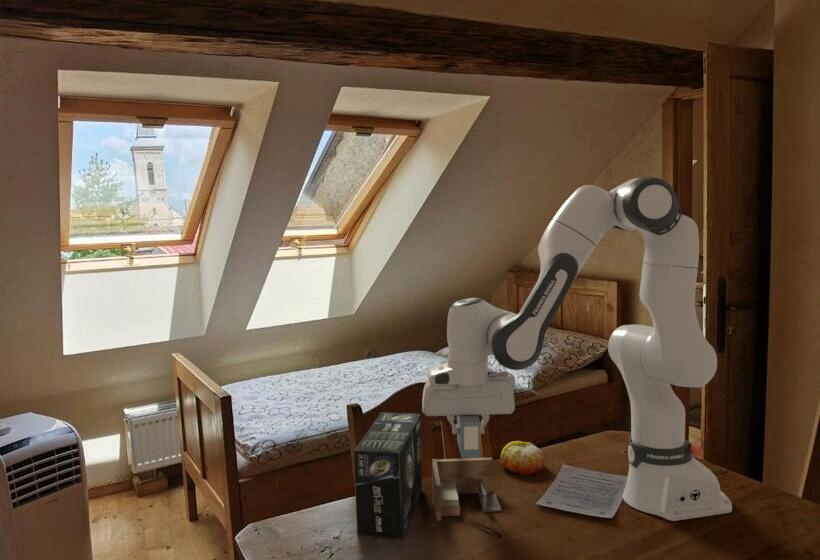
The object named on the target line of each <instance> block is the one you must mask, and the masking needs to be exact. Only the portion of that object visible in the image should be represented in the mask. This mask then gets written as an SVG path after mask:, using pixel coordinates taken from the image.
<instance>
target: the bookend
mask: <svg viewBox="0 0 820 560" xmlns="http://www.w3.org/2000/svg"><path fill="white" fill-rule="evenodd" d="M478 498H479V501H480V504H481V505H480V506H481V507H482V511H483V513H488V512H490V513H491V512H493V513H494V512H502V507H501V504H500V502H499V499H498V496H497V493H496V492H489V493H486V491H485V488H484V485H483V482H482V479H479V493H478Z"/></svg>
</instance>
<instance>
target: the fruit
mask: <svg viewBox="0 0 820 560" xmlns="http://www.w3.org/2000/svg"><path fill="white" fill-rule="evenodd" d="M544 454H545V453H544V452H543V450H542V449H540V448H539V447H537V446H536V445H534V444H533V442H527V441H526V442H525V441H521V440H515V441H513V440H512V441H510V442H508V443H507V444H506V445H505V446H504V447H503V448H502V450H501V453H500V457H499V458H500V464H501V466H502V468H504V469H506V470H508V471H510V472H511V473H514V474H520V475H521V476H531V475H534V474H535V475H536V474H538V473H539V472H540V471H542V469H544V467H545V465H546V457H545V455H544Z"/></svg>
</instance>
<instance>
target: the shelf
mask: <svg viewBox="0 0 820 560" xmlns="http://www.w3.org/2000/svg"><path fill="white" fill-rule="evenodd" d="M493 462H494V461H493V457H481V458H443V459H442V458H441V459H437V458H431V471H432V473H431V475H432V477H431V478H432V480H431V481H432V483H431V484H432V496H433V505H434V509H435V518H436V521H437V522H441V521H442V517H452V516H453V517H457V516H461V507H460V501H459V494H460V495H461V494H479V479H482V482H483V485H484V488H485V491H486V493H494V474H493V473H494V470H493V469H494V468H493V467H494V465H493V464H494V463H493Z"/></svg>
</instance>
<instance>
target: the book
mask: <svg viewBox="0 0 820 560" xmlns="http://www.w3.org/2000/svg"><path fill="white" fill-rule="evenodd" d="M480 423H481V420H480V417H479V415H456V424H459V427H460V430H459V431H460V434H456V440H457V445H458V448H459V453H460V457H461V459H465V458H482V457H481V454H482V453H481V450H482V449H481V434H480Z"/></svg>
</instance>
